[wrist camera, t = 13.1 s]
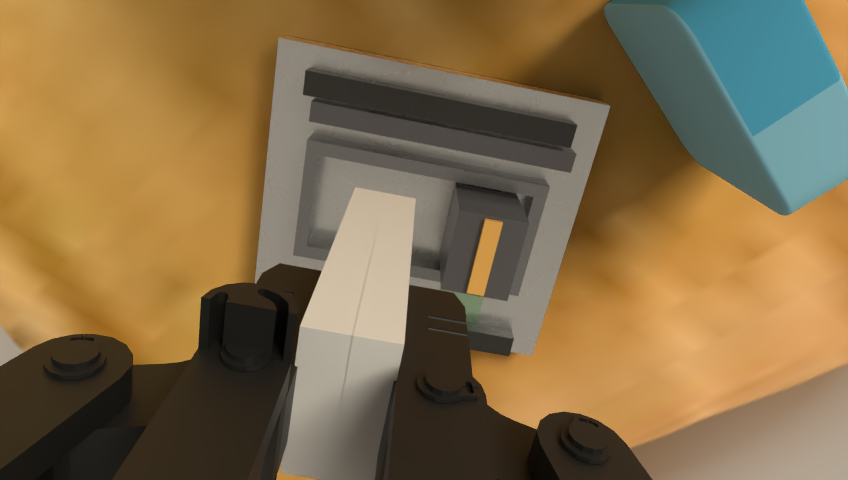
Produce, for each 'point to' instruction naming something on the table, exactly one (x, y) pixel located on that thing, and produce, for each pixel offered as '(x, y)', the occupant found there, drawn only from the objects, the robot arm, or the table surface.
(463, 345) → the robot arm
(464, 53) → the table surface
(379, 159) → the breaker panel
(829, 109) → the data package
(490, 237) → the breaker toggle
